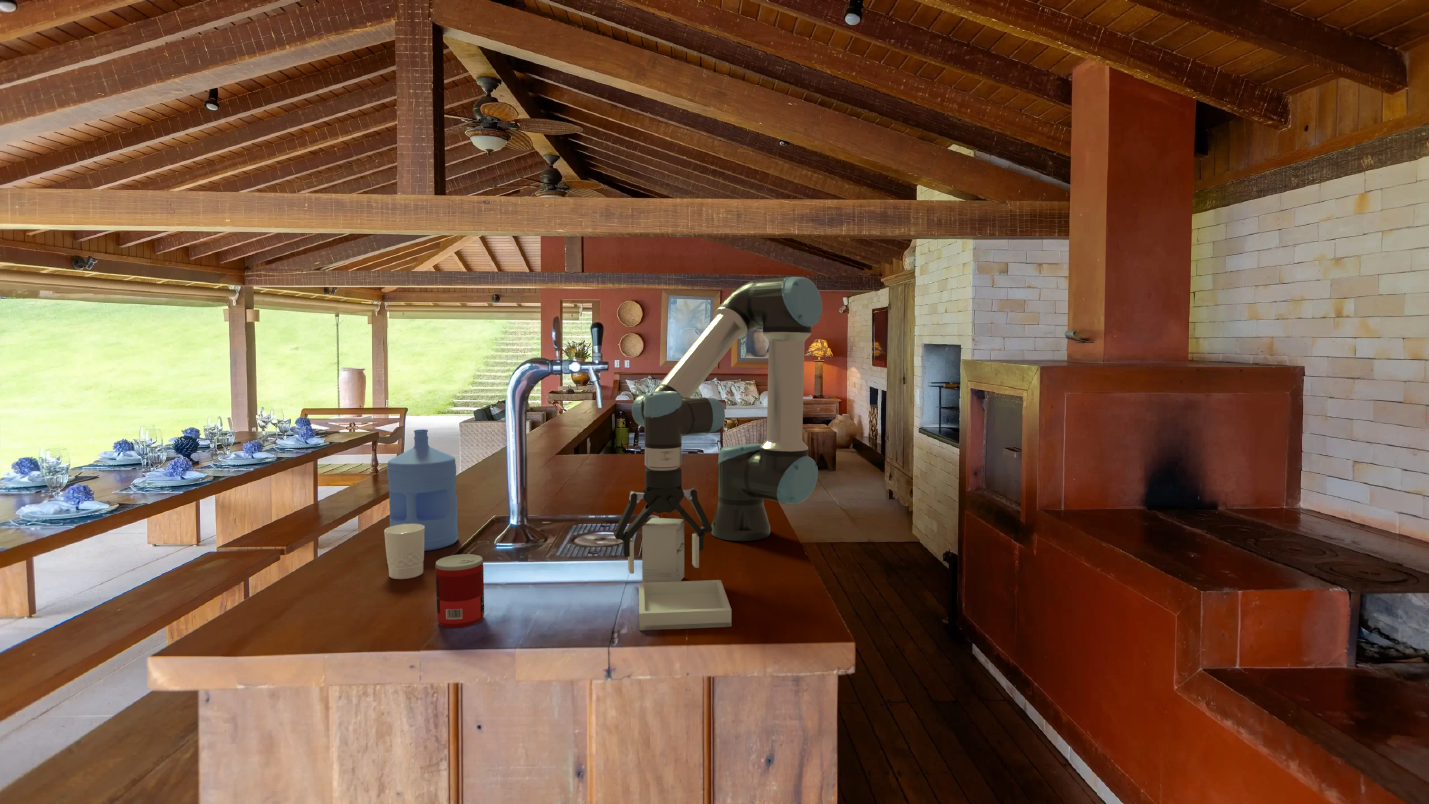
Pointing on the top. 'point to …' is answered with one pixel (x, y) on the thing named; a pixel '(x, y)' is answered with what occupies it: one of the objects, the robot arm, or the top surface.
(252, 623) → the top surface
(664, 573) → the supplement box
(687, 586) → the sage tray
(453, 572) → the canned food
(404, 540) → the white cup
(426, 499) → the water jug
